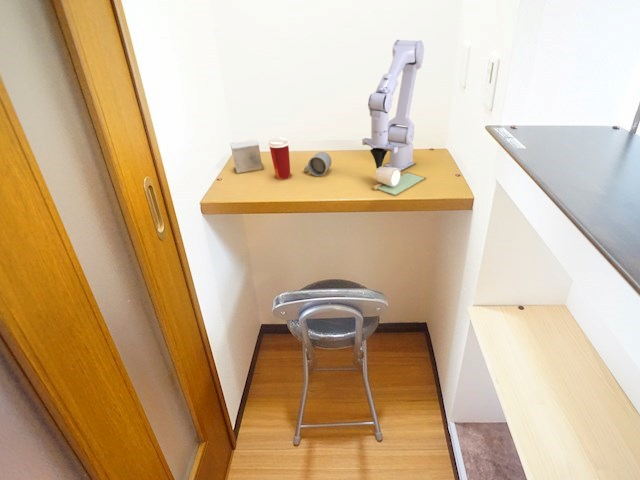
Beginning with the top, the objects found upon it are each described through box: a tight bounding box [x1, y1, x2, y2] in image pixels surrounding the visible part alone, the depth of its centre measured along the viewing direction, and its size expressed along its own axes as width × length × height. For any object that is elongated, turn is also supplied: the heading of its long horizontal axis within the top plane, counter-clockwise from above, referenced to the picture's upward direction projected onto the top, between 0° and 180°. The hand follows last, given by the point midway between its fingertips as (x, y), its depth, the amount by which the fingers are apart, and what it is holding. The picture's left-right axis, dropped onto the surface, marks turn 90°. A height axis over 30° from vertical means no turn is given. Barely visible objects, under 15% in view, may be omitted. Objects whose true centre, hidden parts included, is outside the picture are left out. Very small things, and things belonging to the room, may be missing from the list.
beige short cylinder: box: [374, 165, 402, 187], centre depth 143 cm, size 7×7×7 cm
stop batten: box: [372, 182, 385, 191], centre depth 146 cm, size 12×1×1 cm, turn 137°
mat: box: [376, 172, 425, 196], centre depth 146 cm, size 18×8×1 cm, turn 137°
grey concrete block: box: [230, 139, 264, 174], centre depth 159 cm, size 10×6×10 cm, turn 110°
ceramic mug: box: [303, 151, 332, 177], centre depth 155 cm, size 11×8×8 cm
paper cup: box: [267, 137, 291, 180], centre depth 151 cm, size 8×8×14 cm
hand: (379, 167), depth 144 cm, fingers closed, pressing on beige short cylinder
